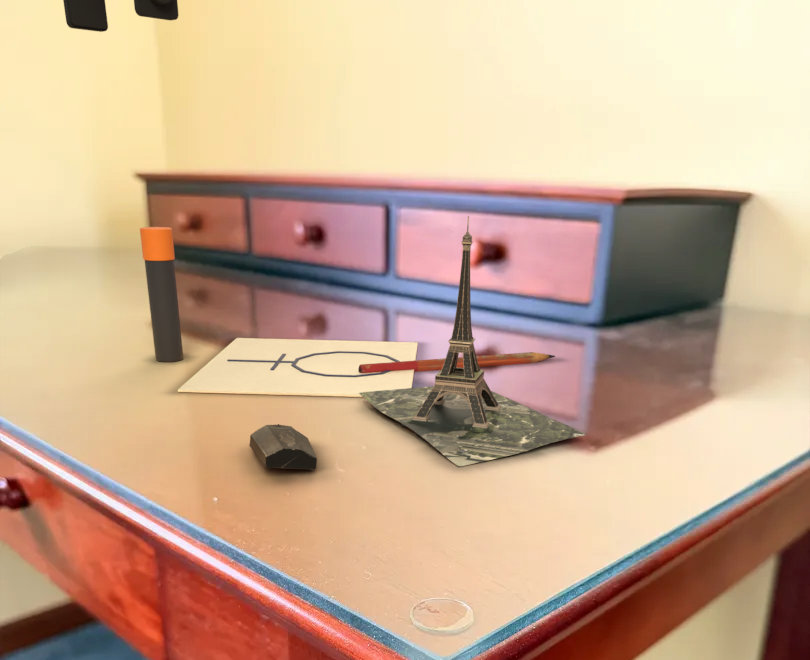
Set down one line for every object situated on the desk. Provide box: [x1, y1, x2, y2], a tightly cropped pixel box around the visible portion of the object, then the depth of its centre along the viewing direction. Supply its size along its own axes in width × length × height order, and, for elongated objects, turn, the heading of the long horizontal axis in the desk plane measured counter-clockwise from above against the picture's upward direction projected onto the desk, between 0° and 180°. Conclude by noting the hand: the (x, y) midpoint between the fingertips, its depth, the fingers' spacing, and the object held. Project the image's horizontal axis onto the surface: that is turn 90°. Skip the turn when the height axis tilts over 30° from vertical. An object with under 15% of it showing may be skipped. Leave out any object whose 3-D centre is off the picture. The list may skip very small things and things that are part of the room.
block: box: [249, 423, 318, 471], centre depth 49 cm, size 4×6×2 cm, turn 18°
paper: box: [177, 337, 419, 398], centre depth 72 cm, size 18×20×1 cm
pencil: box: [358, 351, 556, 373], centre depth 72 cm, size 19×1×1 cm, turn 111°
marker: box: [139, 226, 184, 363], centre depth 71 cm, size 3×3×11 cm
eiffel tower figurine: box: [359, 215, 588, 468], centre depth 54 cm, size 15×10×13 cm
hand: (121, 23), depth 61 cm, fingers open, 9 cm apart
